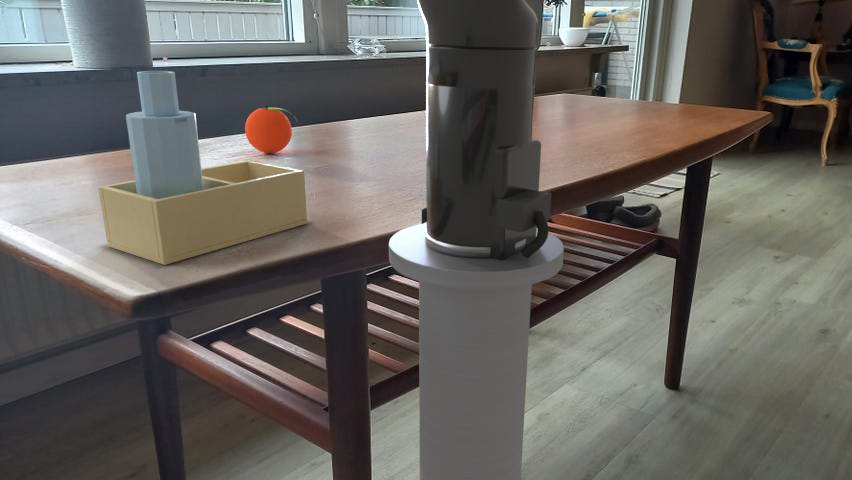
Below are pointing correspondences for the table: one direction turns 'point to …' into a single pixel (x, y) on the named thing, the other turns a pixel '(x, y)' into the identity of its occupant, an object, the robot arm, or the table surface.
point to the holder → (205, 212)
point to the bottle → (163, 140)
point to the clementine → (268, 130)
